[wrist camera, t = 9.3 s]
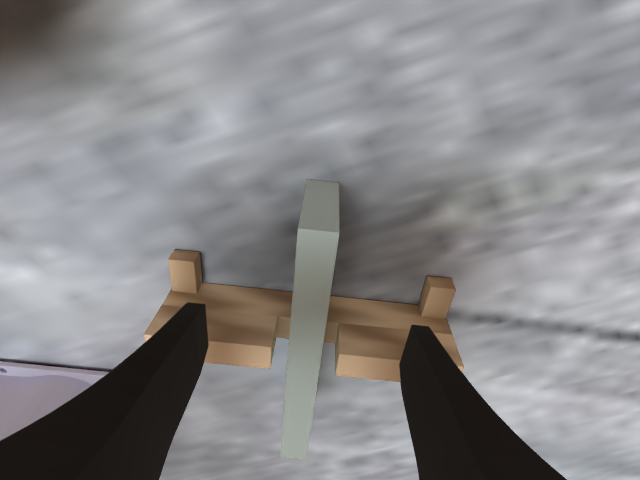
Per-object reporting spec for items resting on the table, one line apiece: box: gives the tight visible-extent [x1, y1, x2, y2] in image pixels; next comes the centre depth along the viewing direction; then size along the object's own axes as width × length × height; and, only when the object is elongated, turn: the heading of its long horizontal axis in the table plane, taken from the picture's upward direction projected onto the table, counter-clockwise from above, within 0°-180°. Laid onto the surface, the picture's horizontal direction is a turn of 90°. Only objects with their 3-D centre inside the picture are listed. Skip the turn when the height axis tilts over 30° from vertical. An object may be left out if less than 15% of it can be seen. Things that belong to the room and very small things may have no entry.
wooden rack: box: [144, 249, 464, 382], centre depth 21 cm, size 16×6×4 cm, turn 84°
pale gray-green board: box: [280, 179, 339, 459], centre depth 20 cm, size 2×16×5 cm, turn 174°
